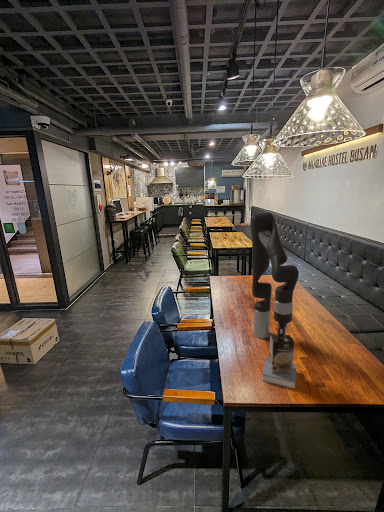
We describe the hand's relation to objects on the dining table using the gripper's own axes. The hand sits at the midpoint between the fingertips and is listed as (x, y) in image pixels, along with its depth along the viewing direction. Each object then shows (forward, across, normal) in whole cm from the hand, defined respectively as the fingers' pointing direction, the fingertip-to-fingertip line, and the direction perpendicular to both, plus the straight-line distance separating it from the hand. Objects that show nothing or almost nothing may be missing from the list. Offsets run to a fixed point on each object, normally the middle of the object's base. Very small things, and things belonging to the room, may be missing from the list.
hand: (281, 342), depth 111 cm
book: (+18, 0, 0) cm, 18 cm away
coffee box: (+14, 0, 0) cm, 14 cm away
